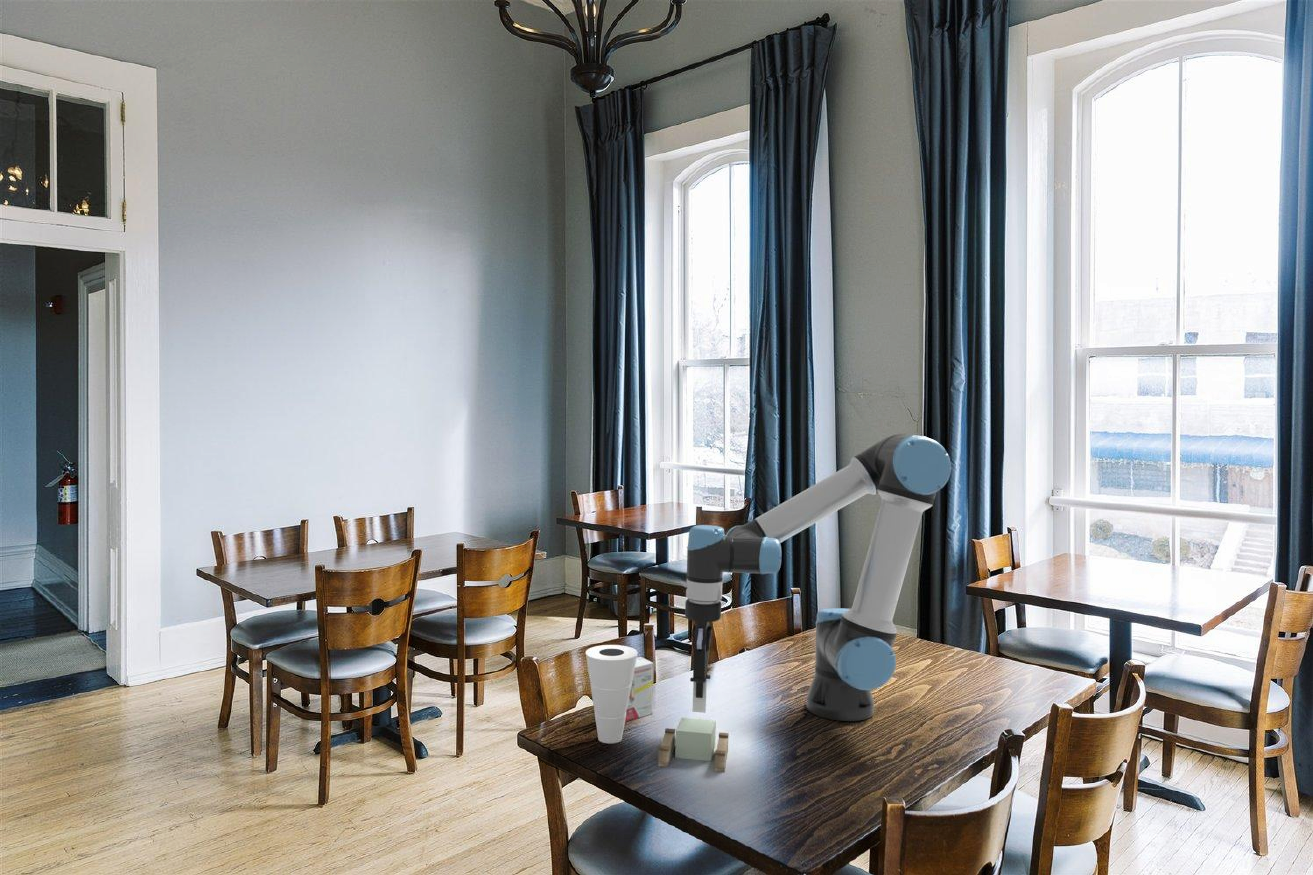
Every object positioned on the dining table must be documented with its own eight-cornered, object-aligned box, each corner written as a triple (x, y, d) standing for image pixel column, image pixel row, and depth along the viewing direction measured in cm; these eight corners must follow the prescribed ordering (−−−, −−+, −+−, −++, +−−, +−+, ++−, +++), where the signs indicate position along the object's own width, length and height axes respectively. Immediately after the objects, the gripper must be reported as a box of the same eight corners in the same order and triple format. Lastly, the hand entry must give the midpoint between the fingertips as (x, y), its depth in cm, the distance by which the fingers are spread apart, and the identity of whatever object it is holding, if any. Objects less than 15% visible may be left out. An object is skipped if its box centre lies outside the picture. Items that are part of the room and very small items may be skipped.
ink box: (623, 722, 182) (624, 668, 182) (609, 715, 186) (610, 663, 185) (653, 714, 187) (654, 661, 187) (640, 707, 191) (641, 656, 191)
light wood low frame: (728, 750, 168) (728, 733, 168) (724, 771, 159) (725, 753, 158) (665, 745, 170) (665, 728, 170) (658, 766, 160) (658, 747, 160)
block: (715, 747, 170) (715, 720, 170) (710, 761, 163) (711, 733, 163) (681, 744, 172) (681, 717, 171) (675, 758, 165) (675, 730, 164)
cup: (577, 732, 176) (578, 647, 175) (624, 725, 180) (626, 642, 179) (593, 752, 166) (595, 662, 165) (643, 744, 170) (645, 656, 170)
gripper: (689, 591, 183) (685, 698, 184) (682, 605, 170) (677, 720, 171) (723, 594, 182) (719, 701, 183) (719, 608, 169) (714, 723, 170)
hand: (699, 710), depth 177 cm, fingers closed
